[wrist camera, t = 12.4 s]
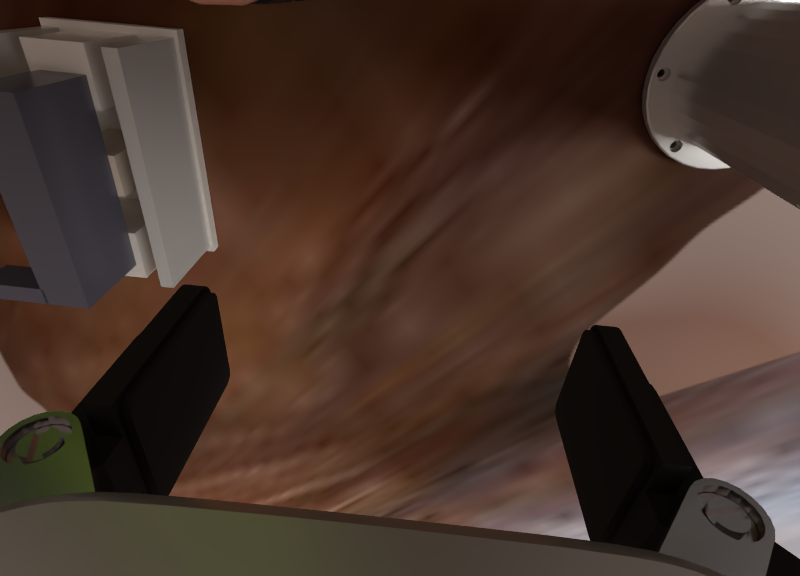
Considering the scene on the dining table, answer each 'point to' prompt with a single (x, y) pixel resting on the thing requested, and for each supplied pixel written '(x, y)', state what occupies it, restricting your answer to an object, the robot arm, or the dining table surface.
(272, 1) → the coffee jar
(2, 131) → the grey bracket
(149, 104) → the stand
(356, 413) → the dining table surface
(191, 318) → the robot arm
